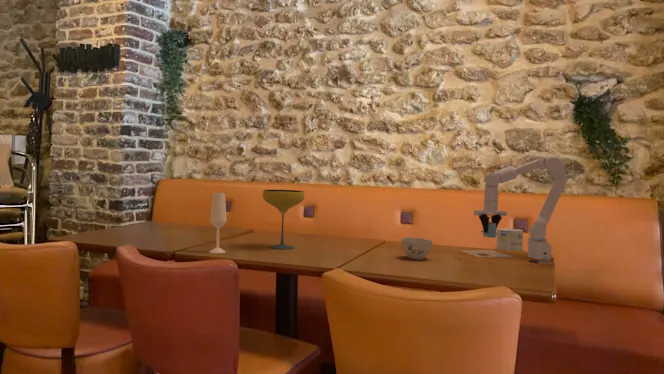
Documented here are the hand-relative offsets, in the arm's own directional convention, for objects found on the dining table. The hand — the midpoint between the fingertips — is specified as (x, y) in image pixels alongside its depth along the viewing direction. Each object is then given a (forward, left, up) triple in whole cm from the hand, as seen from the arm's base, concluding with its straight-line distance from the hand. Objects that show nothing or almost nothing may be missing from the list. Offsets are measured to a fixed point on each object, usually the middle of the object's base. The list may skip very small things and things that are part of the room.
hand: (489, 232), depth 232 cm
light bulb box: (+10, -16, -11) cm, 21 cm away
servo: (0, 0, -2) cm, 2 cm away
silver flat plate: (-1, +2, -10) cm, 11 cm away
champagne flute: (+14, +114, -11) cm, 115 cm away
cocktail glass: (+25, +86, -11) cm, 90 cm away
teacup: (-3, +34, -11) cm, 36 cm away
